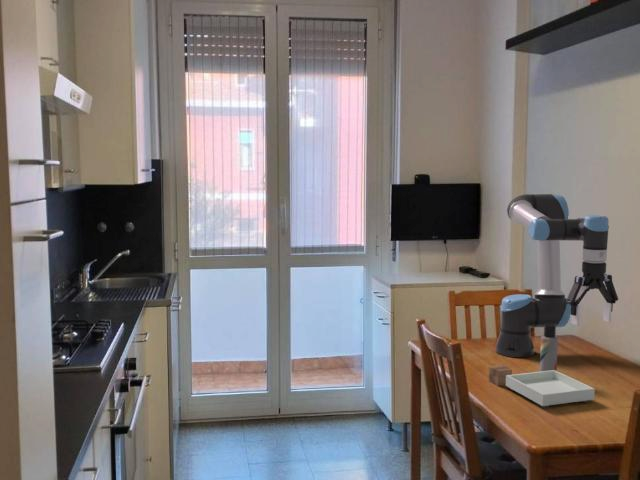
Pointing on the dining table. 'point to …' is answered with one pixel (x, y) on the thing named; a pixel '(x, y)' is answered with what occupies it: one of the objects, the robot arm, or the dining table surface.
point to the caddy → (550, 388)
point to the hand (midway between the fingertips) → (591, 323)
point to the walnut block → (499, 374)
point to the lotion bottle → (549, 348)
